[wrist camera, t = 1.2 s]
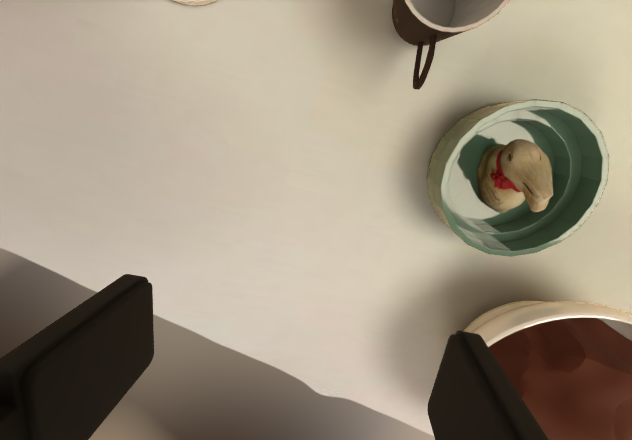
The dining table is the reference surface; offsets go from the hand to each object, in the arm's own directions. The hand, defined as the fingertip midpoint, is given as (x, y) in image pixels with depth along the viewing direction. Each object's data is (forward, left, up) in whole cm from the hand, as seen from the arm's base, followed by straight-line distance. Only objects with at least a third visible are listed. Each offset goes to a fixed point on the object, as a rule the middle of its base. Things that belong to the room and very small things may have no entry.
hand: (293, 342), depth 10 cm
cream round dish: (+20, +28, -29) cm, 45 cm away
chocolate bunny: (-3, +19, -28) cm, 34 cm away
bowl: (-3, +19, -29) cm, 34 cm away
